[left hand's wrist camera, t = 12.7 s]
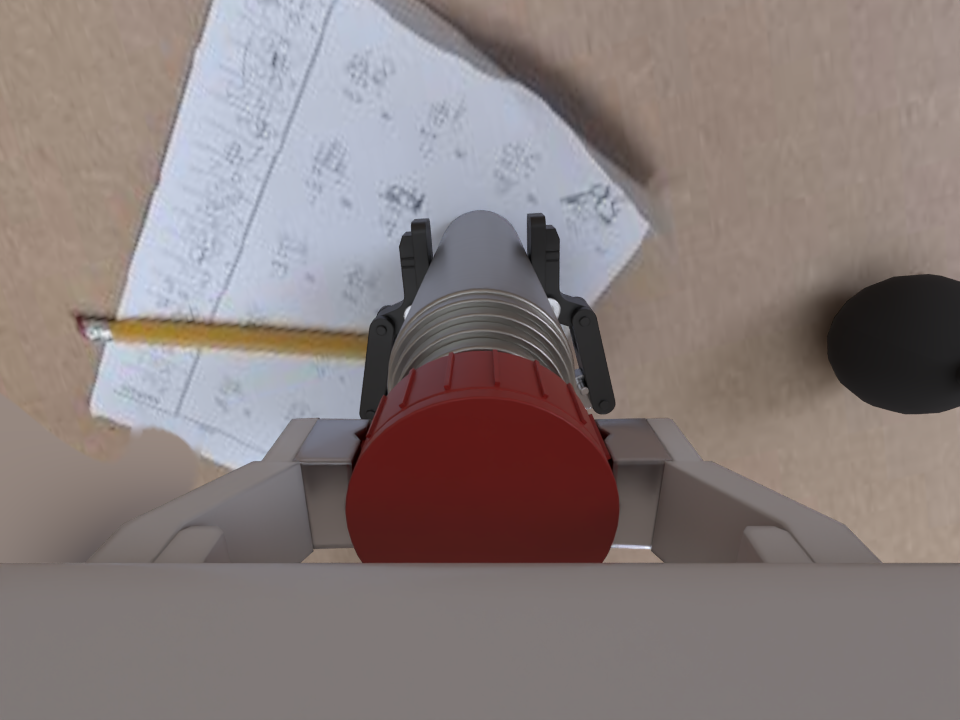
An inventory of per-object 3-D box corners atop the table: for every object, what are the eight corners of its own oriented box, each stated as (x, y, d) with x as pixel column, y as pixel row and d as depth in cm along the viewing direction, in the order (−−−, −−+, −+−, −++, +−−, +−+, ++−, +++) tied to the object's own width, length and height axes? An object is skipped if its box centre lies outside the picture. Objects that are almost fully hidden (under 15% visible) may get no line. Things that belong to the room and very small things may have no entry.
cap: (596, 538, 11) (620, 616, 9) (383, 551, 11) (364, 629, 9) (599, 339, 9) (629, 385, 7) (348, 356, 9) (316, 405, 7)
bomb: (883, 391, 35) (1074, 503, 23) (777, 362, 34) (923, 463, 23) (953, 282, 32) (1208, 350, 21) (838, 246, 31) (1040, 298, 20)
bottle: (522, 287, 32) (624, 606, 9) (444, 293, 32) (361, 620, 10) (518, 207, 30) (634, 360, 8) (436, 213, 30) (310, 382, 8)
